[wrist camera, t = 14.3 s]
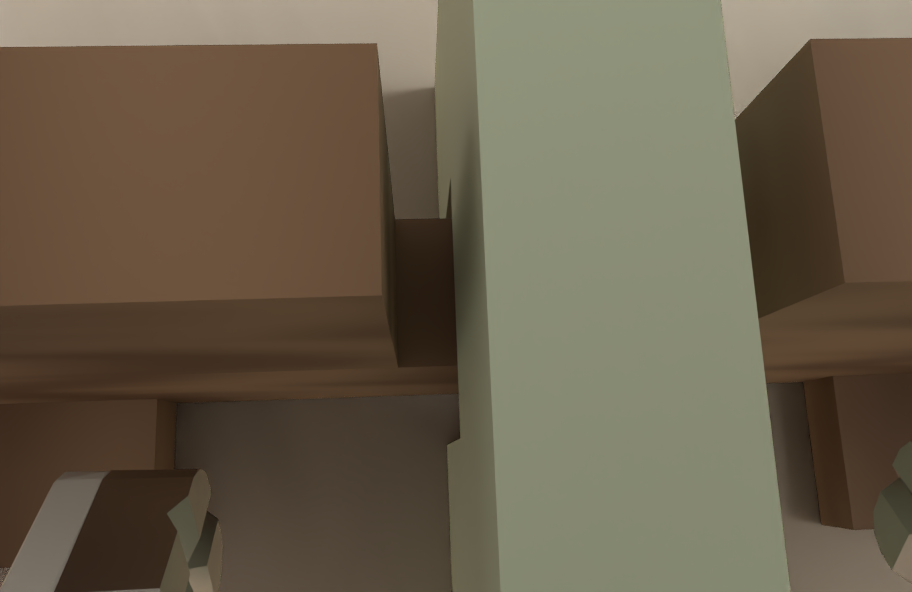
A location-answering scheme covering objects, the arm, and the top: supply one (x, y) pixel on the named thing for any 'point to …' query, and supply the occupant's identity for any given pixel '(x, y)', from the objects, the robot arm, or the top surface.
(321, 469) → the top surface
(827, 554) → the top surface
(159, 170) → the walnut slotted board
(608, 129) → the green slotted plate
